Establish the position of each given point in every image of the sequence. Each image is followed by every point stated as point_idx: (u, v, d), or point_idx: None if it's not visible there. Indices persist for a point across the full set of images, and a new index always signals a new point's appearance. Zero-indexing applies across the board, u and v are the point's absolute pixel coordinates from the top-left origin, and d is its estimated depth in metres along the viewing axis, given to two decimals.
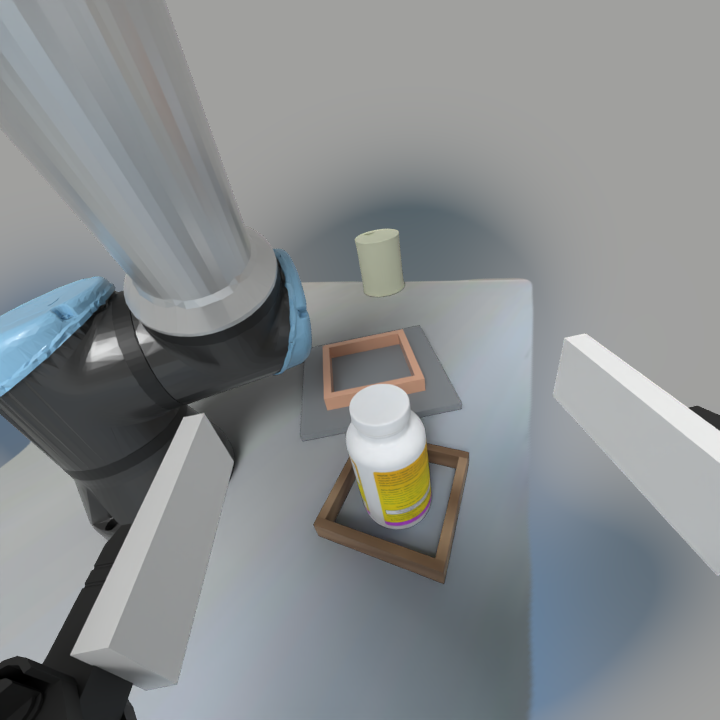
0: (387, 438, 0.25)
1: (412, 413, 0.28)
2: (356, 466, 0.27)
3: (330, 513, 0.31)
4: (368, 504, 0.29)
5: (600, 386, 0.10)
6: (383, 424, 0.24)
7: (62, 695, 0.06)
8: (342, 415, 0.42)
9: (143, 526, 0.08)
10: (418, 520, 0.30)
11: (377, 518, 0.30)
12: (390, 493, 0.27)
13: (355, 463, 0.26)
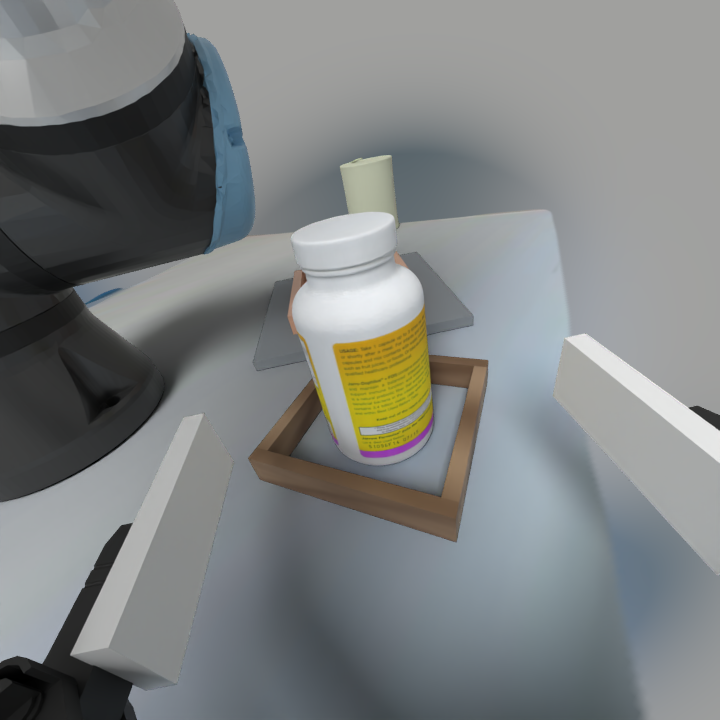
0: (355, 278, 0.14)
1: None
2: (307, 345, 0.16)
3: (278, 444, 0.20)
4: (333, 424, 0.19)
5: (600, 386, 0.10)
6: (345, 238, 0.13)
7: (62, 695, 0.06)
8: None
9: (143, 526, 0.08)
10: (413, 450, 0.19)
11: (348, 447, 0.19)
12: (364, 390, 0.16)
13: (304, 338, 0.16)
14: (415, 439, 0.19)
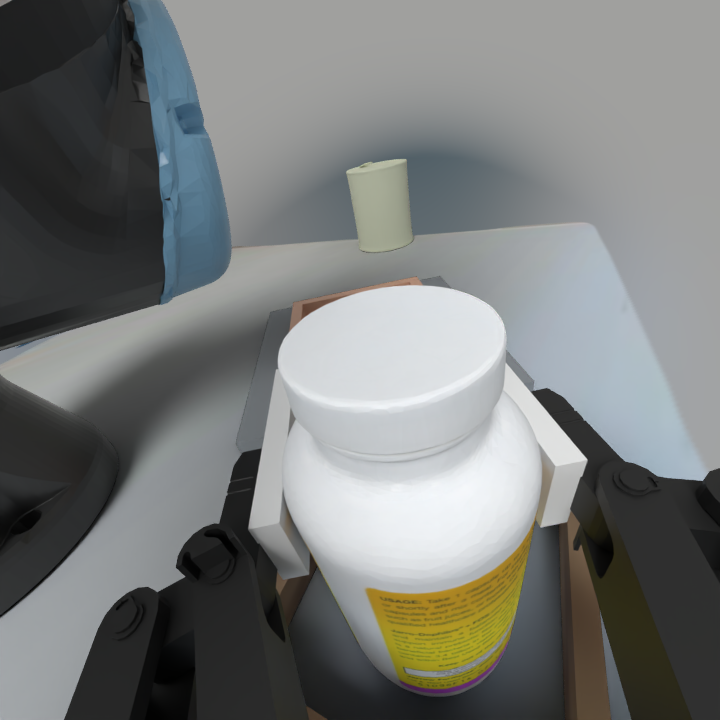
0: (422, 463, 0.06)
1: None
2: (310, 551, 0.08)
3: None
4: (355, 634, 0.11)
5: None
6: (412, 401, 0.05)
7: (247, 567, 0.07)
8: None
9: (273, 445, 0.10)
10: (489, 673, 0.11)
11: (378, 666, 0.11)
12: (423, 640, 0.08)
13: (306, 543, 0.08)
14: (495, 661, 0.11)
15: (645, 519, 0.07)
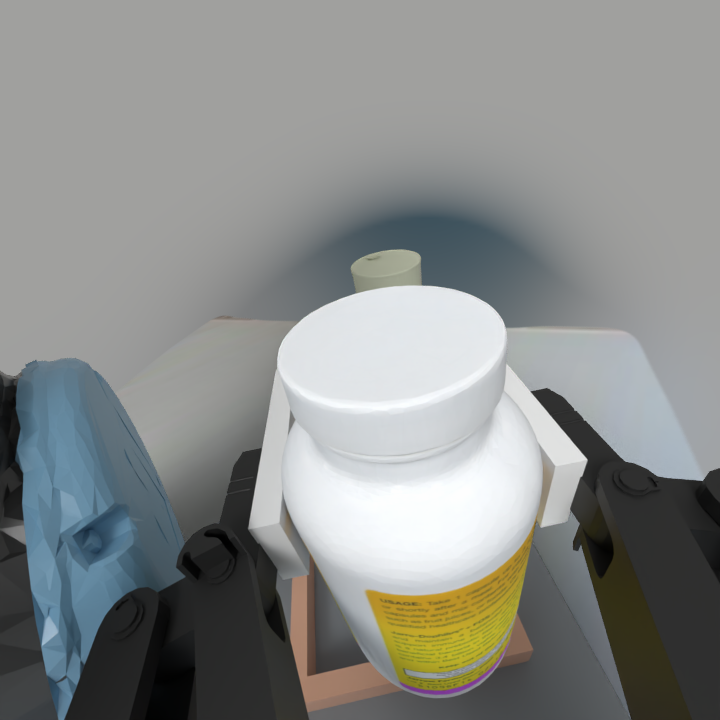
0: (422, 464, 0.06)
1: None
2: (310, 553, 0.08)
3: None
4: (355, 635, 0.11)
5: None
6: (413, 402, 0.05)
7: (247, 567, 0.07)
8: None
9: (273, 445, 0.10)
10: (489, 674, 0.11)
11: (378, 667, 0.11)
12: (424, 642, 0.08)
13: (305, 545, 0.08)
14: (495, 662, 0.11)
15: (645, 519, 0.07)
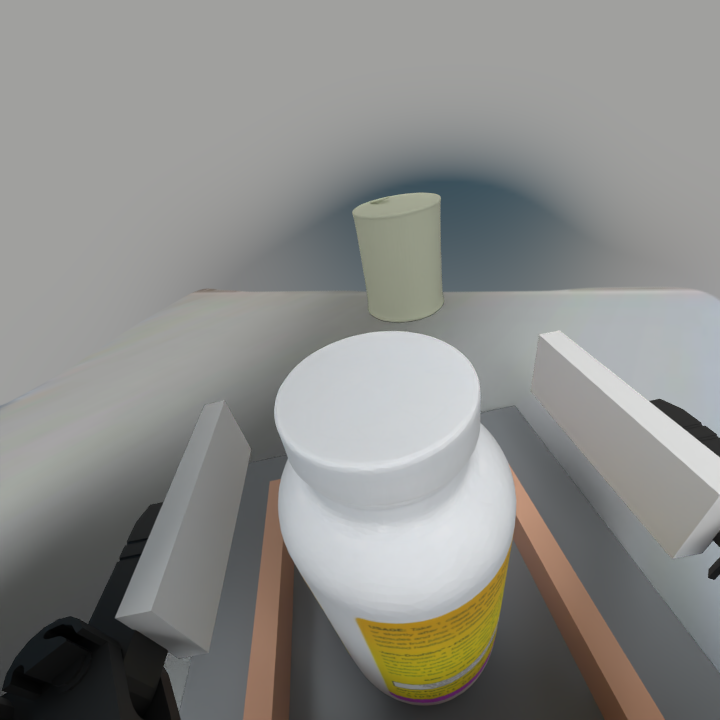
0: (405, 508, 0.07)
1: None
2: (305, 581, 0.09)
3: None
4: (347, 649, 0.11)
5: (570, 381, 0.11)
6: (394, 463, 0.06)
7: (108, 657, 0.06)
8: None
9: (174, 503, 0.09)
10: (473, 682, 0.12)
11: (369, 678, 0.12)
12: (410, 659, 0.09)
13: (301, 574, 0.08)
14: (478, 671, 0.12)
15: None
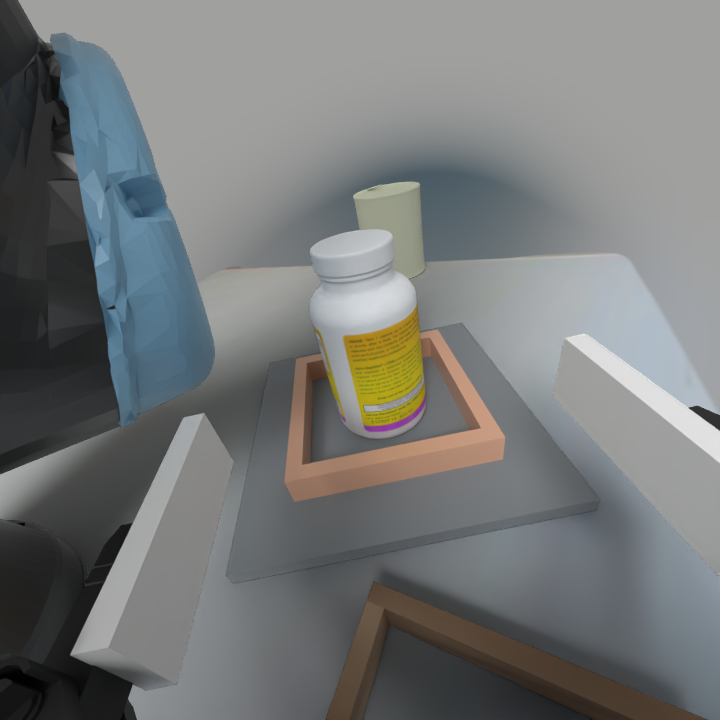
0: (361, 284, 0.18)
1: (398, 272, 0.21)
2: (321, 337, 0.19)
3: None
4: (342, 403, 0.22)
5: (600, 386, 0.10)
6: (354, 253, 0.17)
7: (62, 695, 0.06)
8: (324, 520, 0.19)
9: (143, 526, 0.08)
10: (408, 426, 0.23)
11: (353, 423, 0.23)
12: (368, 373, 0.19)
13: (320, 331, 0.19)
14: (410, 416, 0.22)
15: None
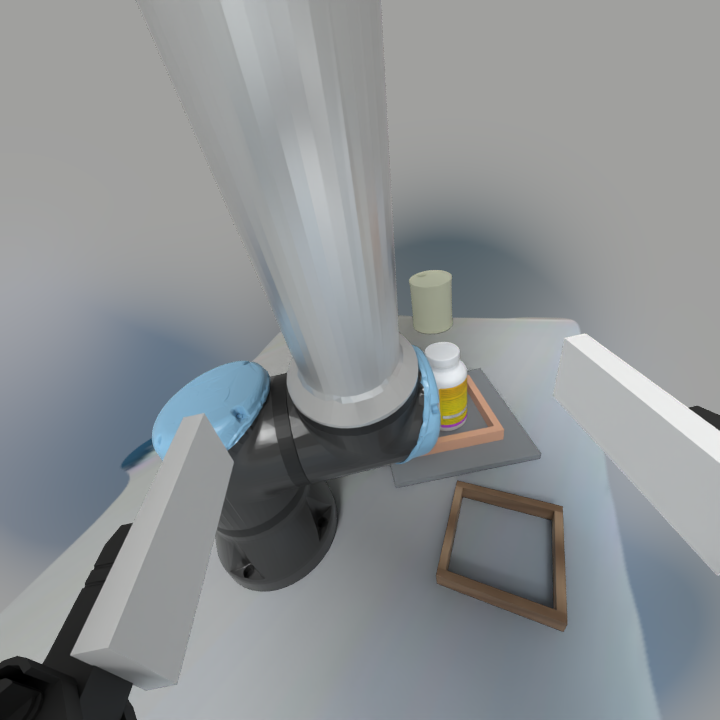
0: (447, 369, 0.45)
1: (458, 359, 0.48)
2: None
3: (447, 563, 0.35)
4: None
5: (600, 386, 0.10)
6: (447, 359, 0.44)
7: (62, 695, 0.06)
8: (430, 463, 0.46)
9: (143, 526, 0.08)
10: (460, 425, 0.50)
11: None
12: (447, 403, 0.47)
13: None
14: (461, 420, 0.50)
15: None
